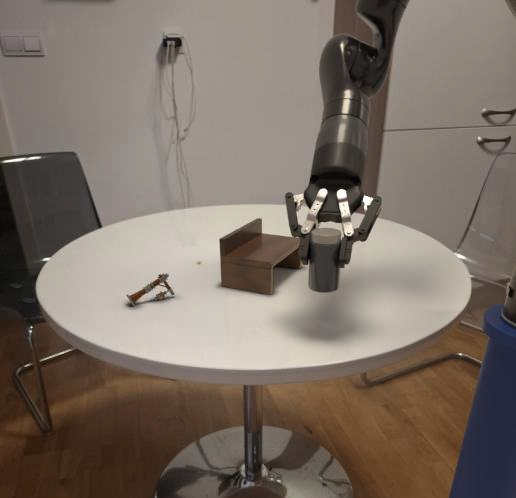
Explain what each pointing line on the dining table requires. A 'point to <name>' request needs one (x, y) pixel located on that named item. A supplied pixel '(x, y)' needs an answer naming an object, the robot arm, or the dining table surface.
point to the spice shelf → (255, 257)
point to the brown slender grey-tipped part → (149, 287)
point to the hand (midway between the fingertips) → (323, 263)
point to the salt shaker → (324, 260)
